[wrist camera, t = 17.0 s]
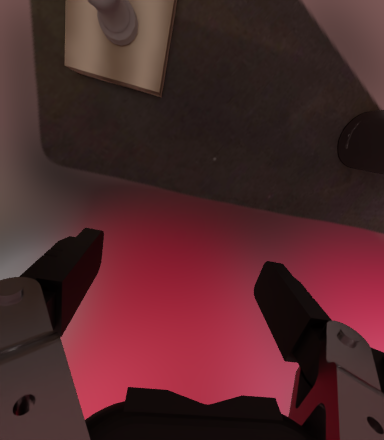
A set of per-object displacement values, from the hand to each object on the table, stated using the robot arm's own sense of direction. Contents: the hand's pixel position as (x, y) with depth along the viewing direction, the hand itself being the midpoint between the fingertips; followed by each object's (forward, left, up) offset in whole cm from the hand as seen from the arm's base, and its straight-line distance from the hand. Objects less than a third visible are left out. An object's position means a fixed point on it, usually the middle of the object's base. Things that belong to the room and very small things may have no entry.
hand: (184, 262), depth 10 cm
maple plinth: (+11, -16, -28) cm, 34 cm away
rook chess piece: (+11, -16, -24) cm, 31 cm away
